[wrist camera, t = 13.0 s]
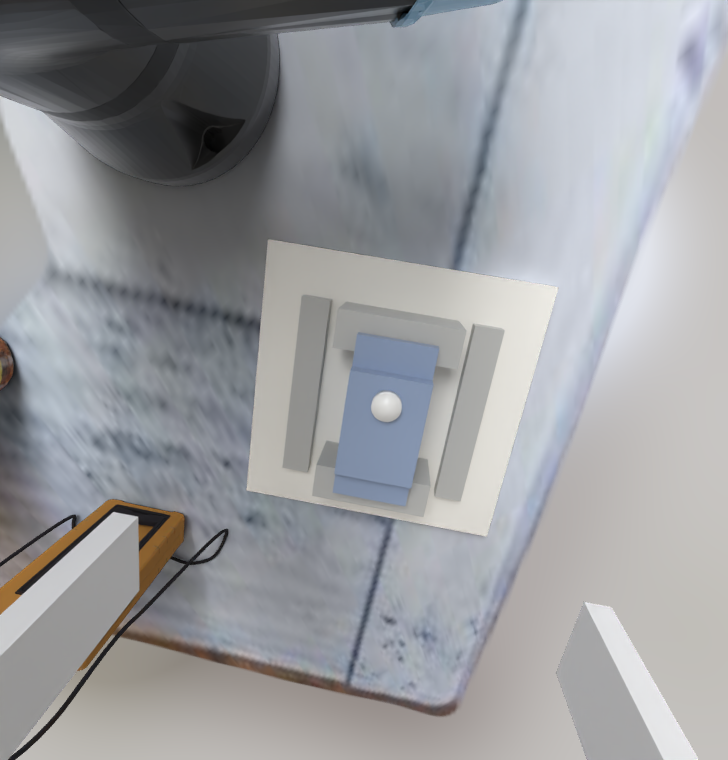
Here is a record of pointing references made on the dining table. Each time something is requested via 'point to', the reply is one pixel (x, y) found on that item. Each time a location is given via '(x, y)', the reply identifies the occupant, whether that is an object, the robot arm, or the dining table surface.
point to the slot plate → (403, 295)
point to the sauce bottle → (5, 364)
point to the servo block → (384, 418)
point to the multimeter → (155, 549)
